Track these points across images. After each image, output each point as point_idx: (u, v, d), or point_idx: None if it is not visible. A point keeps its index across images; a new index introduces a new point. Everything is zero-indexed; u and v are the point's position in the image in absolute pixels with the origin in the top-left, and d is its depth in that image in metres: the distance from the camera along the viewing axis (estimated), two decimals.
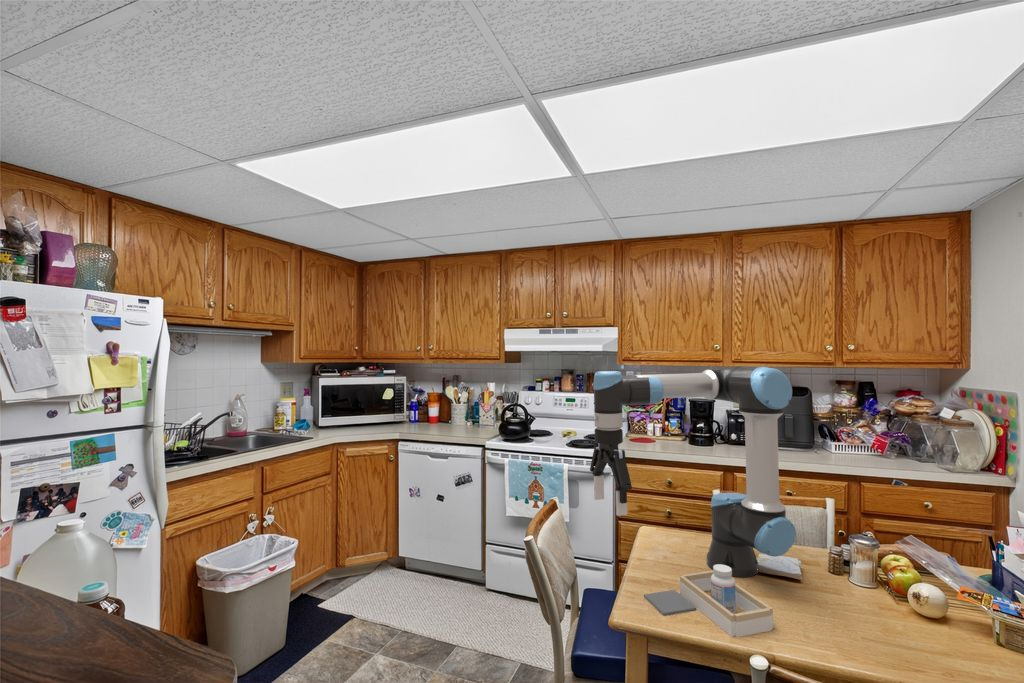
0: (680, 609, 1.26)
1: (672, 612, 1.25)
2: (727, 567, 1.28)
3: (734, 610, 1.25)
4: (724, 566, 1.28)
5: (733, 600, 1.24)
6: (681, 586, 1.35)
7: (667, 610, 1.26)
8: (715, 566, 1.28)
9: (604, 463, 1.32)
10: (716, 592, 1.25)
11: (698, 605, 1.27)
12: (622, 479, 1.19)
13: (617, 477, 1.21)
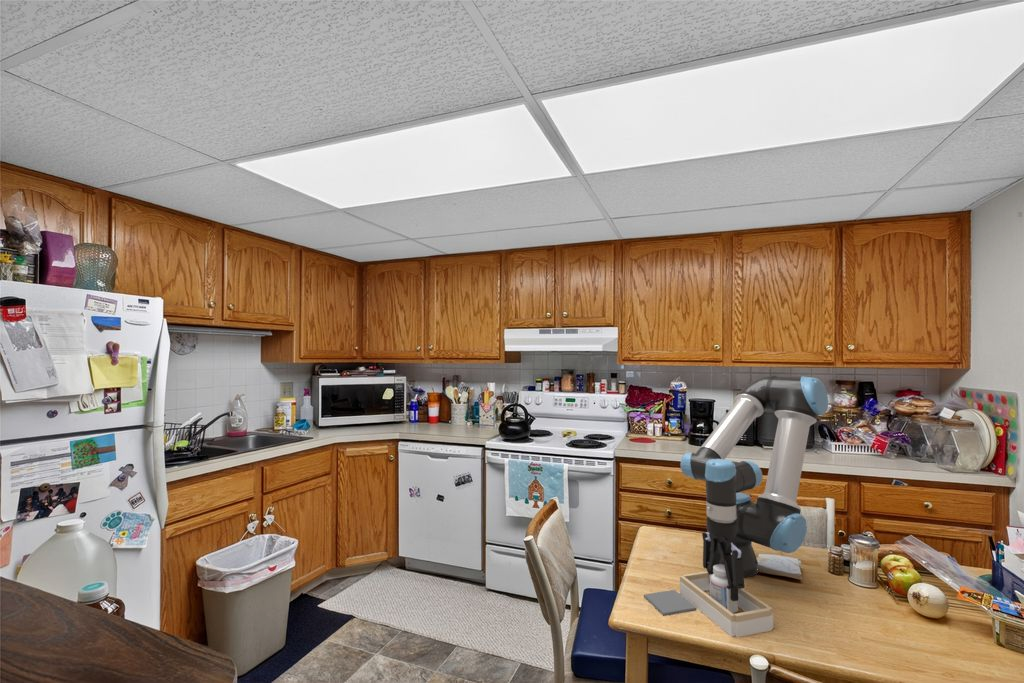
0: (680, 609, 1.26)
1: (672, 612, 1.25)
2: None
3: None
4: (724, 566, 1.28)
5: None
6: (681, 586, 1.35)
7: (667, 610, 1.26)
8: (715, 566, 1.28)
9: (718, 556, 1.29)
10: (716, 592, 1.25)
11: (698, 605, 1.27)
12: (737, 580, 1.21)
13: (730, 575, 1.23)
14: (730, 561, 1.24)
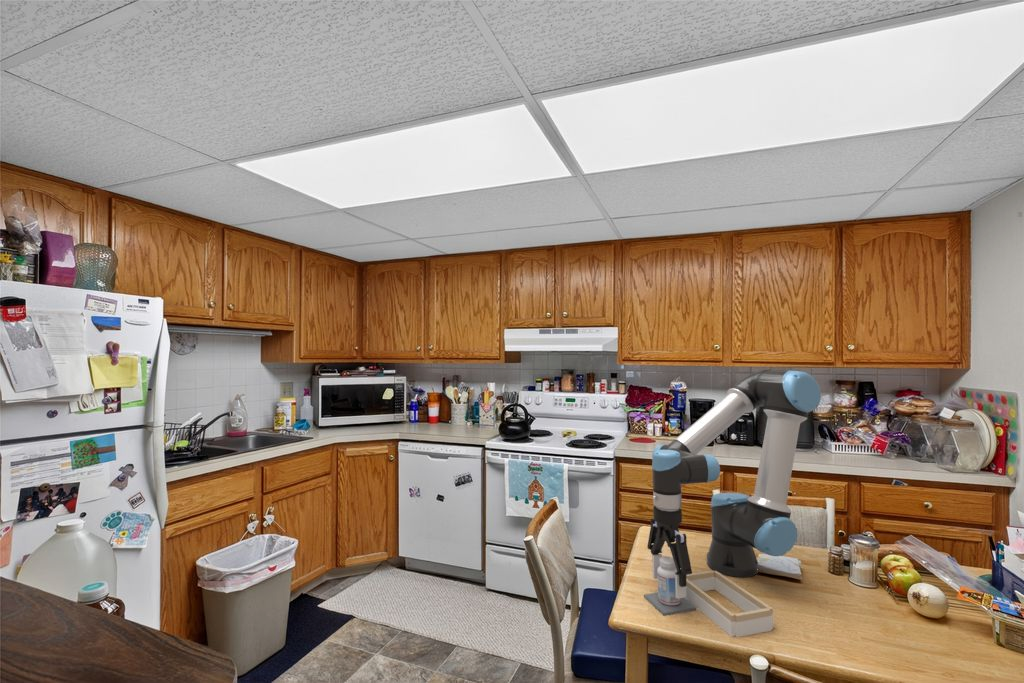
0: (680, 609, 1.26)
1: (672, 612, 1.25)
2: (673, 559, 1.32)
3: (679, 600, 1.28)
4: (670, 558, 1.32)
5: None
6: None
7: (667, 610, 1.26)
8: (661, 558, 1.32)
9: (662, 541, 1.34)
10: (662, 583, 1.29)
11: (698, 605, 1.27)
12: (683, 564, 1.23)
13: (677, 560, 1.25)
14: (676, 547, 1.27)
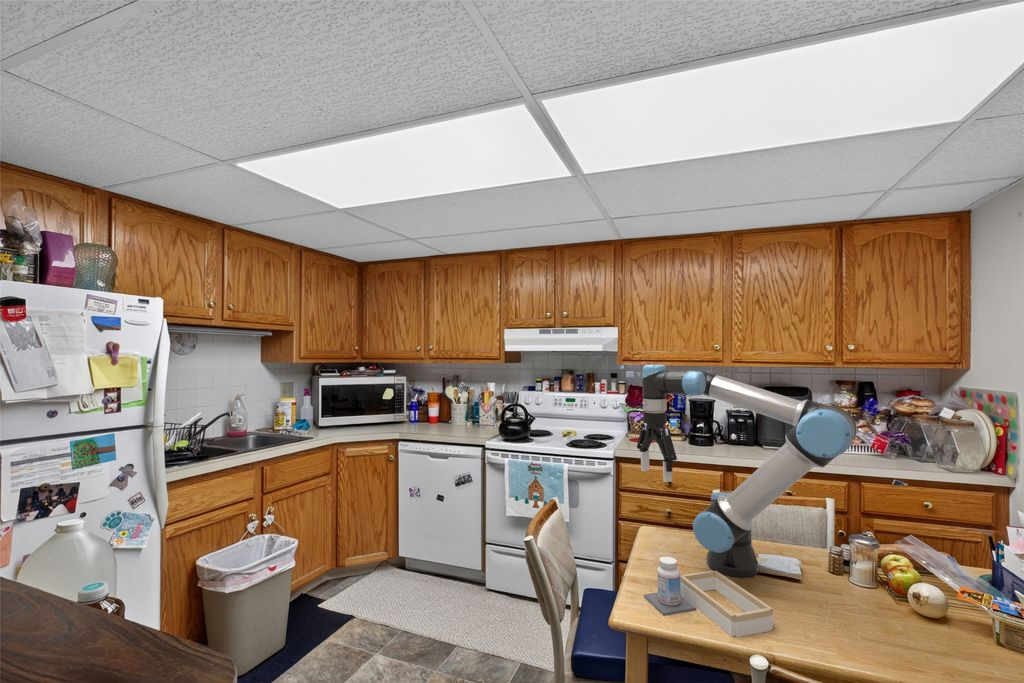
0: (680, 609, 1.26)
1: (672, 612, 1.25)
2: (673, 559, 1.31)
3: (679, 600, 1.28)
4: (670, 558, 1.32)
5: (677, 591, 1.28)
6: (681, 586, 1.35)
7: (667, 610, 1.26)
8: (661, 558, 1.32)
9: (650, 441, 1.59)
10: (662, 584, 1.29)
11: (698, 605, 1.27)
12: (669, 452, 1.46)
13: (664, 451, 1.49)
14: (662, 442, 1.51)
